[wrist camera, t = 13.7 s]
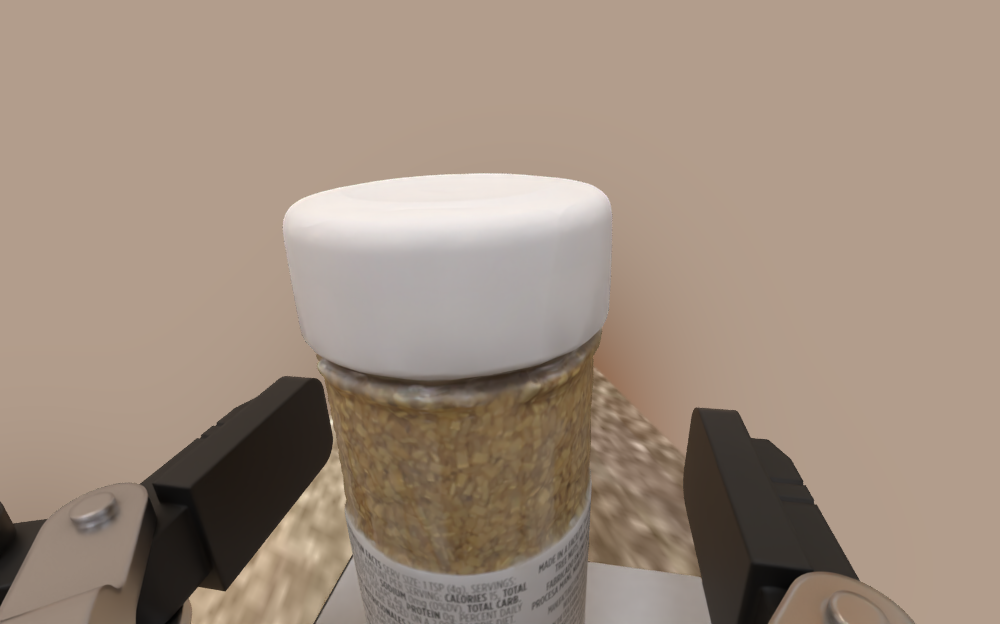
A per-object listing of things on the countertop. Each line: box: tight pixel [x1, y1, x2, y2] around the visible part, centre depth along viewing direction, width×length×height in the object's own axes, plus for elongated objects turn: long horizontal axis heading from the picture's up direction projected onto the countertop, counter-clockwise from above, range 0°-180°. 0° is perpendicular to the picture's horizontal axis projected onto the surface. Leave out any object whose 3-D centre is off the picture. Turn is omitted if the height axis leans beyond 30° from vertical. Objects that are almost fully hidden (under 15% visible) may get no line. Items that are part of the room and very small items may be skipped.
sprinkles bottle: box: [283, 173, 612, 624], centre depth 9 cm, size 5×5×14 cm
